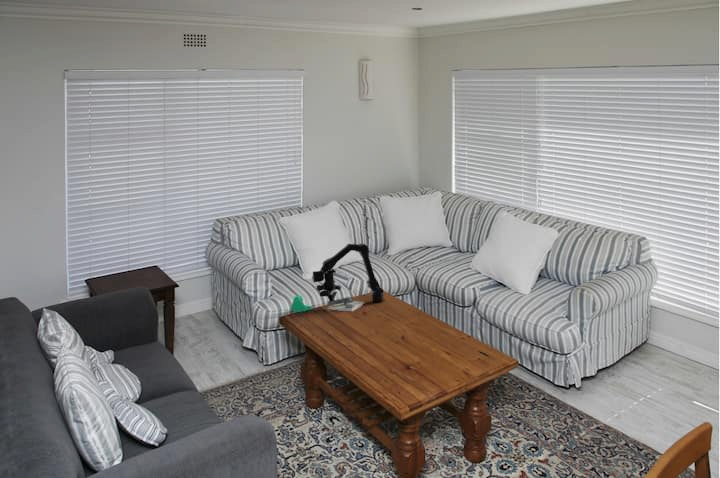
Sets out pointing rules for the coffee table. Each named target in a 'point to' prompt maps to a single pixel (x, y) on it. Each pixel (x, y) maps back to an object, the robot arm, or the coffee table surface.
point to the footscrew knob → (340, 301)
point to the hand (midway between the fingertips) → (331, 303)
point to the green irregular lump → (299, 305)
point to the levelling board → (356, 305)
